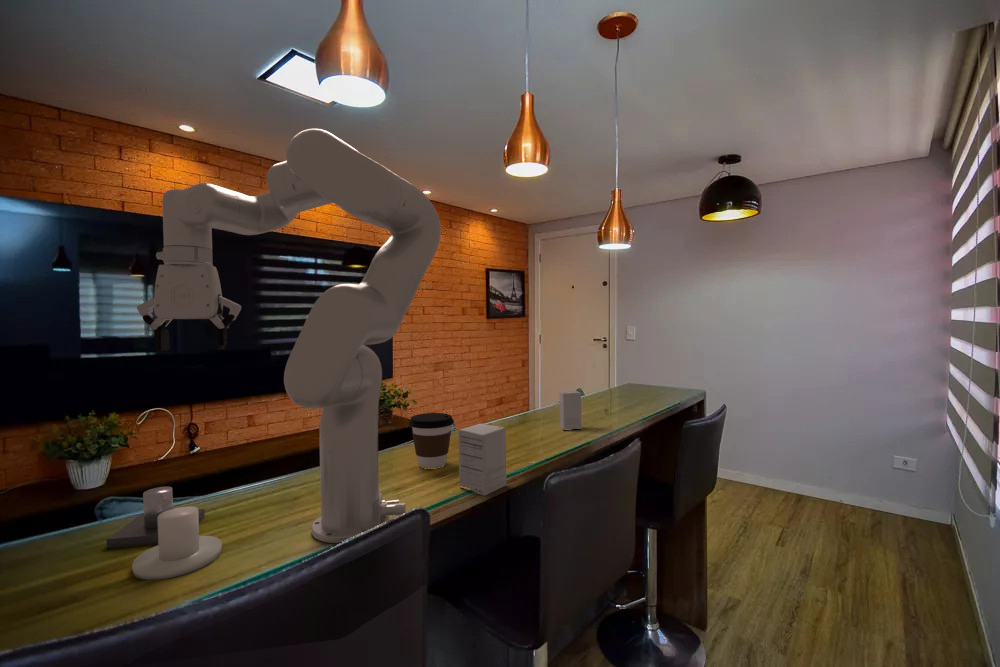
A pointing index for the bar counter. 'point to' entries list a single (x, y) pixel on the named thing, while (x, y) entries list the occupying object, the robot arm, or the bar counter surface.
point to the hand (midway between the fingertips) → (191, 350)
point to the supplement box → (482, 458)
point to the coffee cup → (431, 438)
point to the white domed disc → (176, 561)
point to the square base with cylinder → (146, 520)
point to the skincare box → (570, 410)
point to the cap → (178, 533)
